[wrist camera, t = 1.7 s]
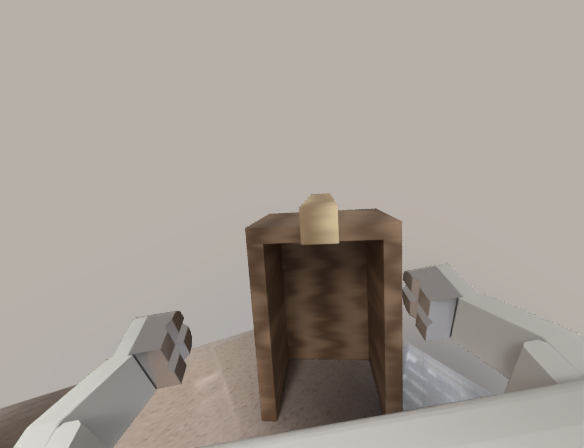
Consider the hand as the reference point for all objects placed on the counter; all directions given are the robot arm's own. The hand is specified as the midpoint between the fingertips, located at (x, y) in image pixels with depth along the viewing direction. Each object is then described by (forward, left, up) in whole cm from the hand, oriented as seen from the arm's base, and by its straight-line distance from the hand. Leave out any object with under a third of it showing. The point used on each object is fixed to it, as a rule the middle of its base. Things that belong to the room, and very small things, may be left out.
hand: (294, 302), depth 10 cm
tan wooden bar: (+1, +24, -1) cm, 24 cm away
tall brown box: (+1, +29, -27) cm, 40 cm away
